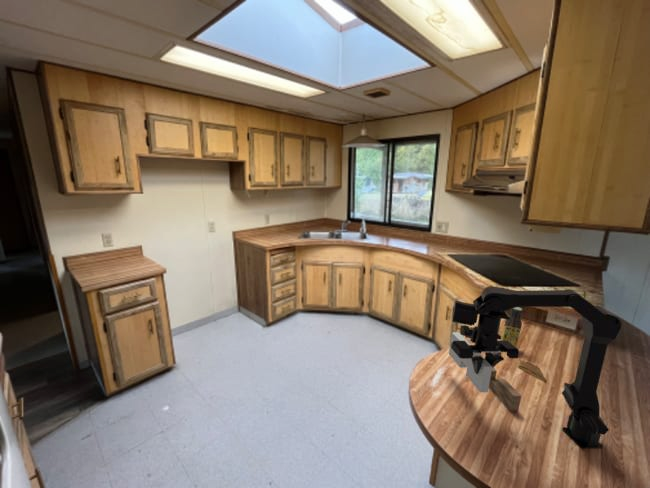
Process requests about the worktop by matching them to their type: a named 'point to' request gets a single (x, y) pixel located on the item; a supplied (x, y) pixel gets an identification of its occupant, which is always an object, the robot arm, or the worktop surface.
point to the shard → (531, 369)
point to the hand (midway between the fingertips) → (480, 373)
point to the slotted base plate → (505, 392)
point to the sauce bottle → (512, 327)
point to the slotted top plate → (484, 373)
